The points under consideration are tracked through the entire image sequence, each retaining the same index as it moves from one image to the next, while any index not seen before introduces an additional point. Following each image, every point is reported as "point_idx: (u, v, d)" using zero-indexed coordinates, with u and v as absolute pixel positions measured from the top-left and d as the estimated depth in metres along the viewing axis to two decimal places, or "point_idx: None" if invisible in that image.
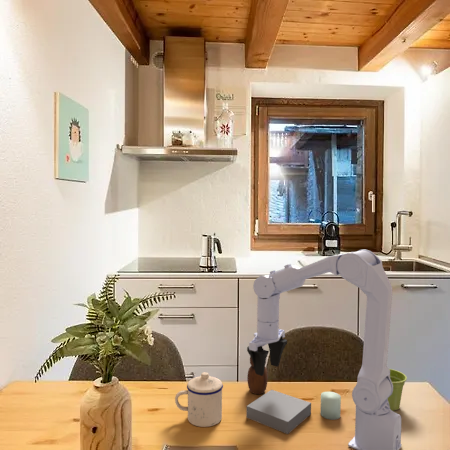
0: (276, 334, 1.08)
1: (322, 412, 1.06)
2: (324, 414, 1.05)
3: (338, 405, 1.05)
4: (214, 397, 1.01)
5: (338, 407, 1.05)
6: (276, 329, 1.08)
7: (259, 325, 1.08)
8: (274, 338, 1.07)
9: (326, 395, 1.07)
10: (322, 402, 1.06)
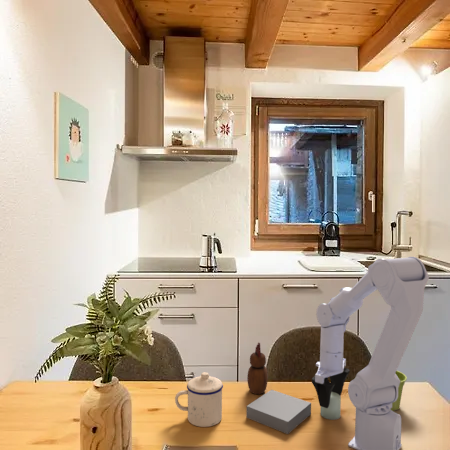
0: (341, 365, 1.04)
1: (322, 412, 1.06)
2: (324, 414, 1.05)
3: (338, 405, 1.05)
4: (214, 397, 1.01)
5: (338, 407, 1.05)
6: (341, 360, 1.04)
7: (323, 355, 1.05)
8: (339, 369, 1.04)
9: None
10: None
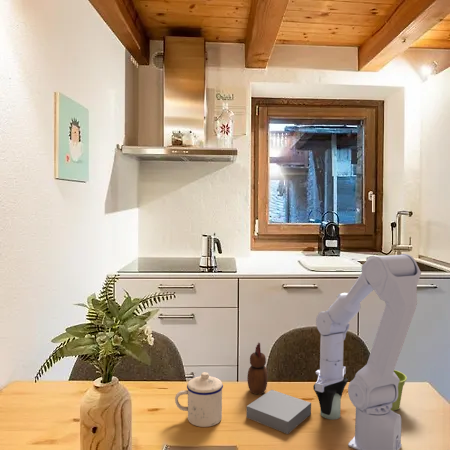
0: (341, 373, 1.04)
1: None
2: (324, 414, 1.05)
3: (338, 405, 1.05)
4: (214, 397, 1.01)
5: (338, 407, 1.05)
6: (341, 368, 1.04)
7: (323, 364, 1.05)
8: (339, 377, 1.04)
9: None
10: None
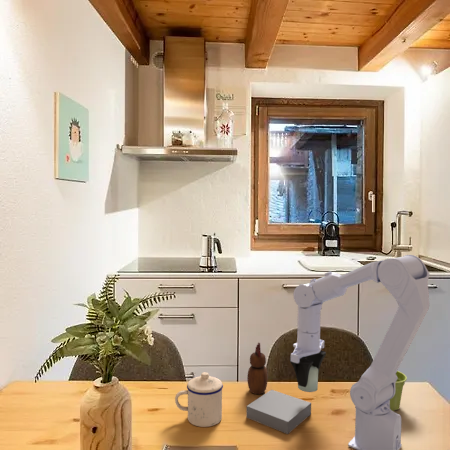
0: (318, 345, 1.04)
1: (299, 385, 1.05)
2: (301, 387, 1.05)
3: (316, 377, 1.04)
4: (214, 397, 1.01)
5: (315, 379, 1.04)
6: (318, 340, 1.04)
7: (300, 336, 1.04)
8: (316, 349, 1.03)
9: None
10: None
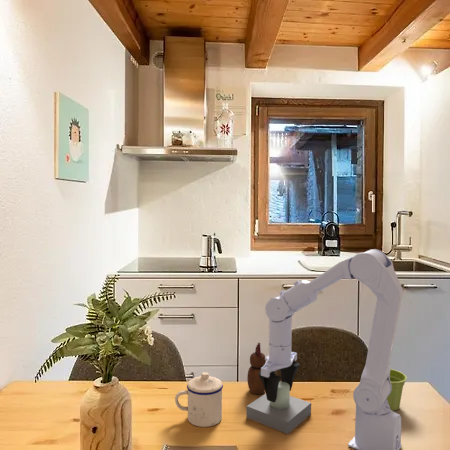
0: (289, 358, 1.03)
1: (271, 402, 1.05)
2: (273, 404, 1.04)
3: (287, 394, 1.04)
4: (214, 397, 1.01)
5: (287, 396, 1.04)
6: (289, 353, 1.03)
7: (271, 349, 1.04)
8: (287, 363, 1.03)
9: None
10: None
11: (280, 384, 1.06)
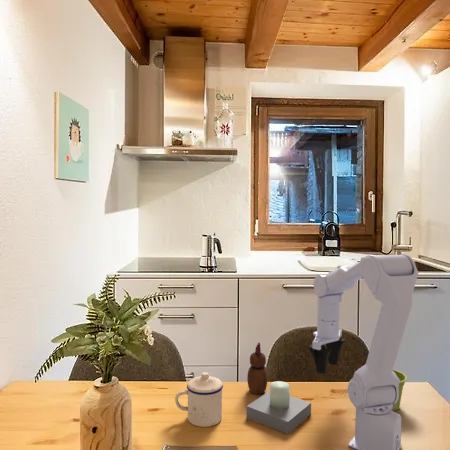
0: (337, 333, 1.10)
1: (271, 402, 1.05)
2: (273, 404, 1.04)
3: (287, 394, 1.04)
4: (214, 397, 1.01)
5: (287, 396, 1.04)
6: (337, 328, 1.09)
7: (320, 324, 1.10)
8: (335, 337, 1.09)
9: (275, 385, 1.06)
10: (271, 392, 1.05)
11: (280, 384, 1.06)
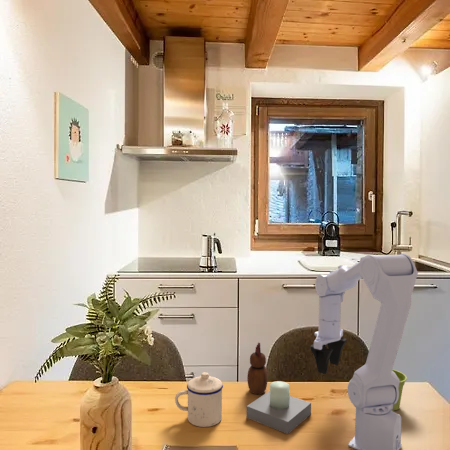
0: (338, 333, 1.10)
1: (271, 402, 1.05)
2: (273, 404, 1.04)
3: (287, 394, 1.04)
4: (214, 397, 1.01)
5: (287, 396, 1.04)
6: (338, 328, 1.10)
7: (321, 324, 1.10)
8: (337, 337, 1.09)
9: (275, 385, 1.06)
10: (271, 392, 1.05)
11: (280, 384, 1.06)
